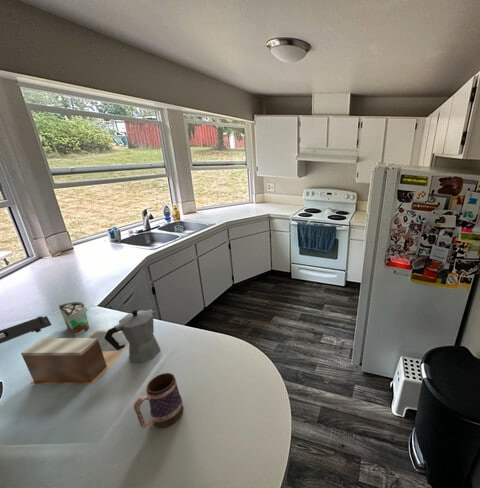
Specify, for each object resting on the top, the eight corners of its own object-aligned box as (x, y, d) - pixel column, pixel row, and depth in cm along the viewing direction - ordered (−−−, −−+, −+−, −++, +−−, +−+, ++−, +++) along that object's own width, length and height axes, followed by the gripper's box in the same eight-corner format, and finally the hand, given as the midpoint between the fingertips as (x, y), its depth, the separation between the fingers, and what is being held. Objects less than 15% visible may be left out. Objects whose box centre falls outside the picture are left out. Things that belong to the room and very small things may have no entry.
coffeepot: (156, 338, 93) (147, 297, 87) (172, 347, 89) (163, 304, 83) (108, 367, 80) (92, 321, 74) (124, 379, 76) (109, 331, 70)
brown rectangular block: (34, 382, 73) (20, 352, 70) (54, 366, 79) (42, 338, 75) (91, 382, 74) (80, 352, 71) (106, 366, 80) (97, 338, 76)
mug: (171, 399, 71) (164, 366, 67) (189, 409, 68) (183, 375, 64) (133, 433, 62) (122, 398, 58) (152, 446, 59) (142, 410, 55)
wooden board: (29, 386, 73) (28, 384, 73) (96, 331, 96) (96, 330, 95) (94, 385, 74) (93, 383, 74) (145, 331, 97) (144, 330, 96)
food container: (98, 330, 97) (91, 308, 93) (77, 339, 92) (68, 316, 88) (86, 318, 103) (79, 297, 99) (66, 326, 98) (58, 304, 95)
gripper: (-175, 430, 40) (-47, 377, 60) (26, 344, 50) (79, 322, 69) (-202, 391, 39) (-64, 350, 59) (6, 311, 49) (66, 298, 69)
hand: (14, 335), depth 64 cm, fingers open, 13 cm apart
